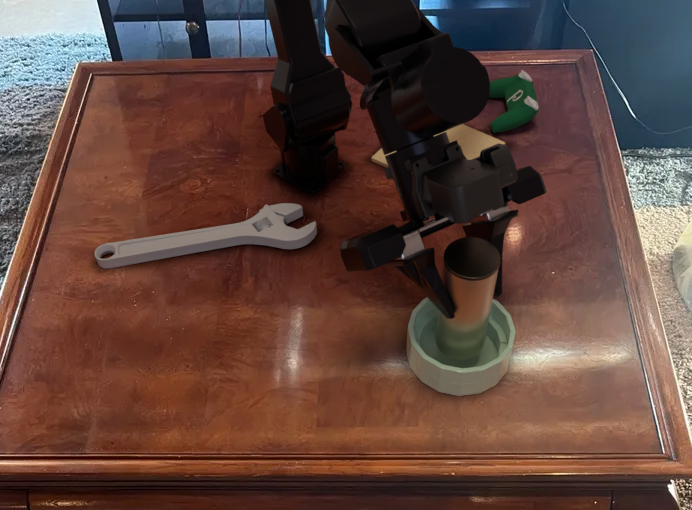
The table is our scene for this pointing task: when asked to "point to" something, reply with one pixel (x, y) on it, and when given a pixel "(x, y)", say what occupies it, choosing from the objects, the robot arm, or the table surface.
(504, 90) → the gaming controller
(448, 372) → the bowl
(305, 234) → the adjustable wrench
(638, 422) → the table surface
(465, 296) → the tin
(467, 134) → the plate
